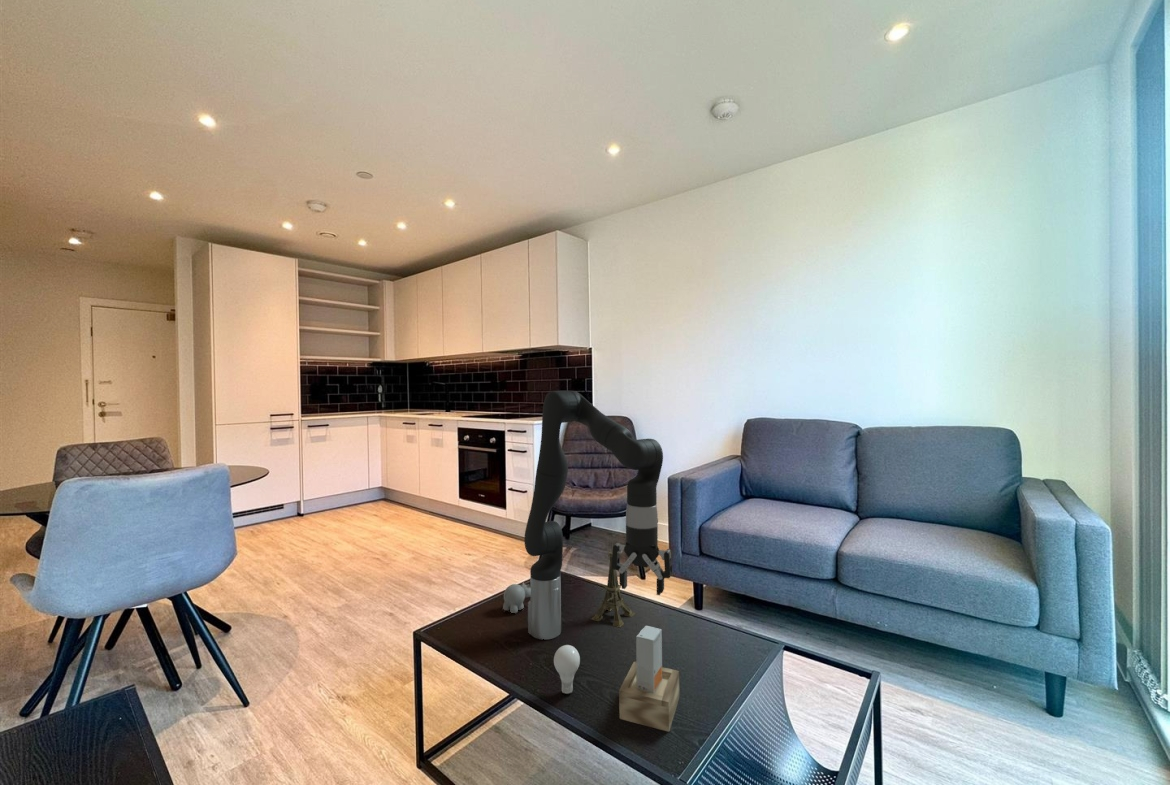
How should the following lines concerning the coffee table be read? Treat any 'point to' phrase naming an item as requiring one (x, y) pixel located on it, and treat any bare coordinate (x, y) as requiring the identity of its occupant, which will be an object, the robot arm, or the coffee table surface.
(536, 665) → the coffee table surface
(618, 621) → the eiffel tower
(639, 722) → the wooden box
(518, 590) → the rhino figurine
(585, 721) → the coffee table surface
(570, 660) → the lightbulb
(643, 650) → the skincare box
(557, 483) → the robot arm
